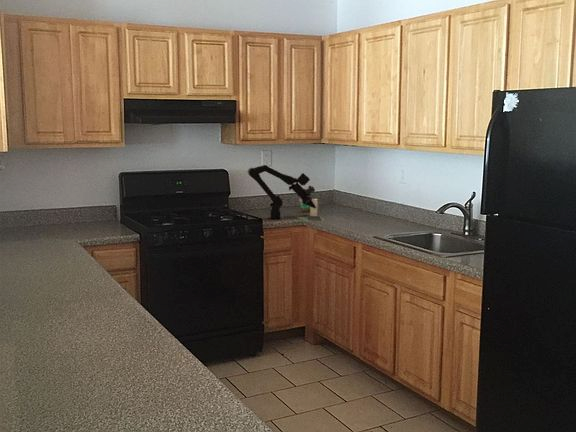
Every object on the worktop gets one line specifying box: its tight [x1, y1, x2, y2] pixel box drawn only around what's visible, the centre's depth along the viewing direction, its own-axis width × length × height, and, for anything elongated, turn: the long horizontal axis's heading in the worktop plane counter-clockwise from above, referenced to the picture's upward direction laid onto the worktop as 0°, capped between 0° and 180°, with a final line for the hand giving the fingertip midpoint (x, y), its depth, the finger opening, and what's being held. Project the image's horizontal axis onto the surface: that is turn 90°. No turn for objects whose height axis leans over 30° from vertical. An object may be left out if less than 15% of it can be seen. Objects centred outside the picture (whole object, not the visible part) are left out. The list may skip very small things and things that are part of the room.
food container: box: [298, 198, 310, 214], centre depth 461 cm, size 12×6×10 cm, turn 73°
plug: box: [309, 198, 319, 216], centre depth 437 cm, size 5×5×12 cm
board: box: [296, 215, 325, 222], centre depth 433 cm, size 14×17×2 cm
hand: (315, 207), depth 437 cm, fingers closed on plug, 4 cm apart
